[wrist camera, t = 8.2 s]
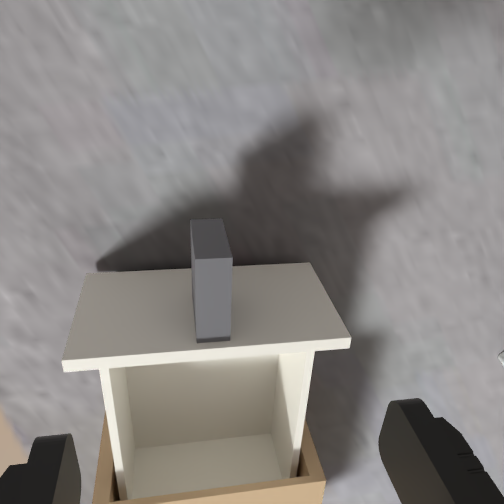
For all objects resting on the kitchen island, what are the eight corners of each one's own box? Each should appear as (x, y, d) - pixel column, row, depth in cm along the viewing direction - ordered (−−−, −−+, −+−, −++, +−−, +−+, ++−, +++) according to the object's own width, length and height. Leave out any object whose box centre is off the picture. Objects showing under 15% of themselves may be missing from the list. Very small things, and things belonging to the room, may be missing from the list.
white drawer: (288, 430, 31) (315, 521, 26) (113, 450, 29) (102, 554, 24) (318, 194, 23) (367, 256, 17) (74, 200, 21) (43, 272, 15)
